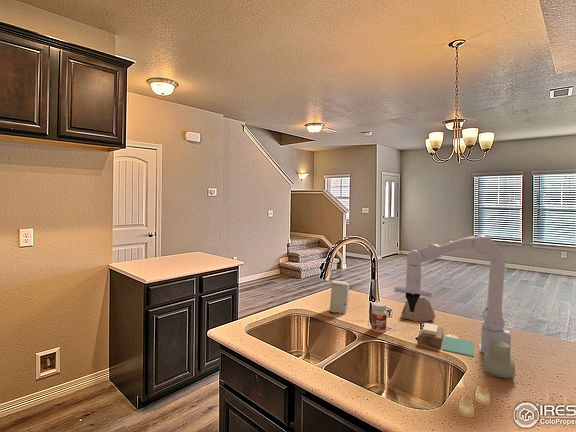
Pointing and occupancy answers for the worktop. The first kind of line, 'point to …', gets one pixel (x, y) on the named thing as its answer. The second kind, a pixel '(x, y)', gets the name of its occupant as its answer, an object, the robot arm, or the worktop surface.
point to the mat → (458, 346)
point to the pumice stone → (419, 311)
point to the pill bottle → (379, 317)
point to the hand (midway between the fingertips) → (412, 311)
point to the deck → (431, 338)
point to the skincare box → (339, 297)
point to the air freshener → (499, 360)
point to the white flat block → (430, 329)
